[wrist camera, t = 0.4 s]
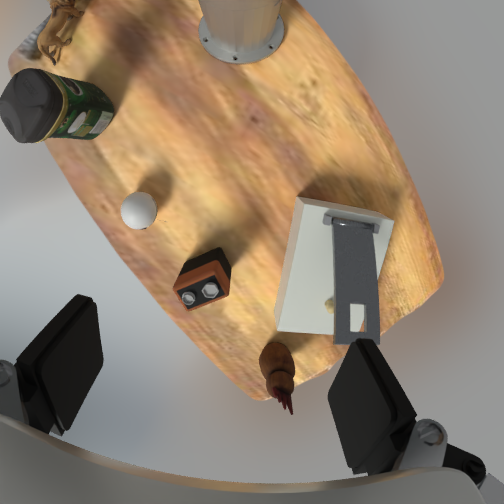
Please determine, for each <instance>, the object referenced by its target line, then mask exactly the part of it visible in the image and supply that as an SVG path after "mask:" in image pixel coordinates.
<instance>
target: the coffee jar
mask: <svg viewBox="0 0 504 504" xmlns="http://www.w3.org/2000/svg"><path fill="white" fill-rule="evenodd" d="M113 114H114V107H113V104H112V102H111V101H110V99H109V98H108V97H107V96H106V95H105V93H104V92H103V91H102V90H101V89H99V88H98V87H97V86H95V85H94V84H91V83H88V82H83V81H79V80H74V79H70V78H66V77H62V76H58V75H55V74H52V73H49V72H47V71H44V70H41V69H34V68H27V69H23V70H21V71H20V72H18V73H16V74H15V75H14V76H13V77H12V79H11V80H10V82H9V83H8V85H7V86H6V88H5V90H4V92H3V94H2V95H1V97H0V116H1V119H2V121H3V123H4V124H5V126H6V128H7V129H8V131H9V132H10V134H11V135H12V136H13V137H14V139H15V140H16V141H18V142H20V143H38V142H41V141H44V140H46V139H47V138H72V139H84V140H90V139H94V138H96V137H97V136H98V135H99V134H100V133H101V132H102V131H103V130H104V129H105V128H106V127H107V126H108V124H109V123H110V121H111V119H112V117H113Z"/></svg>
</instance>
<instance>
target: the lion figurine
mask: <svg viewBox="0 0 504 504" xmlns="http://www.w3.org/2000/svg"><path fill="white" fill-rule="evenodd" d="M47 1H49V3H50V5H51V6H50V8H51V9H52V14H51V17H50V19H49V21H48V23H47V25H46V27H45V28H44V30H43V31H42V32H41V33H40V35H39V37H38V40H37V44H38V47H39V50H40V51H41V52H42V53H43V54H44V55H45V56H46V57H48V58H50V59H51V60H52V62H53V64H54V66H55V65H56V61H55V59H54V58H53V56H54V54H55V53H54V52H53V51H52V52H51V53H49V46H53V45H57V46H58V47H63V46H67V45H69V44H70V42H71V40H70V39H67V40H66V41H65V42H64V43H63V42H61V40H60V38H59V37H58V36H56V33H57V32H59V31H60V30H61V29H62V27H63V26H64V25H65V23H66V21H68V20H70V19H71V18H72V15H74V16H75V17H80V16H82V15H83V14H84V12H83V11H80V12H78V11H77V9H76V8H74V5H75V0H47Z"/></svg>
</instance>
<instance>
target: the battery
mask: <svg viewBox="0 0 504 504" xmlns="http://www.w3.org/2000/svg"><path fill="white" fill-rule="evenodd" d="M230 279H231V266H230V264H229V262H228V260H227V258H226V256H225V254H224V252H223V250H222V249H221V248H216V249H214V250H211V251H209V252H207V253H205V254H202V255H200V256H198V257H196V258H193V259H191V260H189V261H187V262H185V263H184V265H183V267H182V269H181V271H180V274H179V276H178V278H177V280H176V282H175V284H174V286H173V291H174V292H175V294H176V295H177V297H178V299H179V300H180V302H181V303H182V305H183V307H184V308H185V310H186V311H192V310H194V309H197V308H199V307H202V306H204V305H207V304H210V303H212V302H215V301H217V300H220V299H222V298H225V297H227V296H228V295H229V290H230Z"/></svg>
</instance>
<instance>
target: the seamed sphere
mask: <svg viewBox="0 0 504 504" xmlns="http://www.w3.org/2000/svg"><path fill="white" fill-rule="evenodd" d="M121 216H122V218H123V221H124V222H125V223H126V224H127V225H128V226H129V227H131V228H133V229H146V228H147V227H148V226H150V225H151V224H152V223H153V222H154V220H155V219H156V216H157V204H156V201H155V200H154V198H153V197H152V196H151V195H149V194H148V193H145V192H134V193H132V194H130V195H129V196H127V197H126V198H125V200H124V201H123V203H122V206H121ZM160 221H161V220H160ZM165 222H166V221H165Z"/></svg>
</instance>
